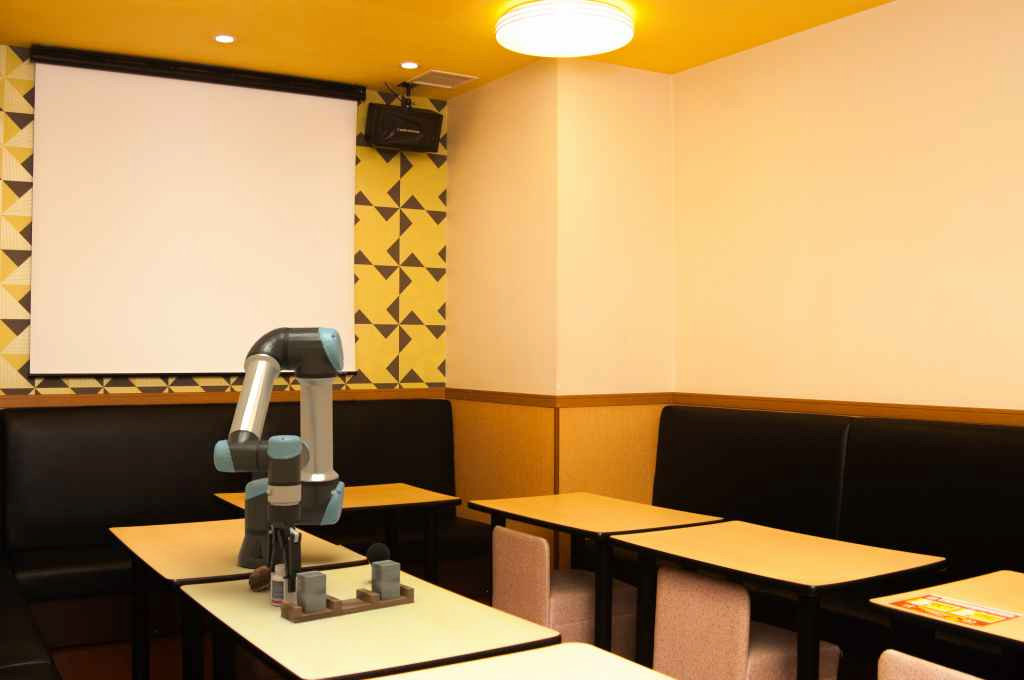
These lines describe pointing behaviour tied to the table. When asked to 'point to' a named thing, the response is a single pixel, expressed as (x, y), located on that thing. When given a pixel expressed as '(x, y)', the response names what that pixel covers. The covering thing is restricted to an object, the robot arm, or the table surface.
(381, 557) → the black round piece
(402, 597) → the rail
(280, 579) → the pill bottle
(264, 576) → the mushroom
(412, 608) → the table surface
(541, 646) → the table surface
